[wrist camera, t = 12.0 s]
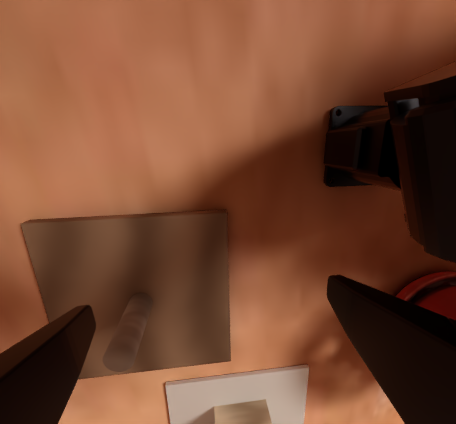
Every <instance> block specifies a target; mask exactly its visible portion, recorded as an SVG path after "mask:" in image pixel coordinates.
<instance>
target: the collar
mask: <svg viewBox="0 0 456 424" xmlns="http://www.w3.org/2000/svg"><path fill="white" fill-rule="evenodd" d="M214 413H215V424H272V422H271V418H270V414H269V410H268V406H267V402H266V399H264V400H257V401H250V402H242V403H235V404H228V405H221V406H214Z"/></svg>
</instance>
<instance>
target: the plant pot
mask: <svg viewBox="0 0 456 424" xmlns="http://www.w3.org/2000/svg"><path fill="white" fill-rule="evenodd" d="M396 297H398V298H400V299H403V300H405V301H408V302H410V303H413V304H415V305H418V306H420V307H423V308H425V309H428V310H431V311H433V312H436V313H438V314H441V315H443V316H446V317H447V318H451V319H454V320H456V272H454V271H445V272H437V273H432V274H429V275H426V276H423V277H421V278H419V279H417V280H415V281H413V282H411V283H410V284H408V285H407V286H406V287H405V288H403V289H402V290H401V291H400V292H399V293H398V294H397V296H396Z"/></svg>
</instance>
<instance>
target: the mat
mask: <svg viewBox="0 0 456 424" xmlns="http://www.w3.org/2000/svg"><path fill="white" fill-rule="evenodd" d="M308 375H309V366H308V364H307V365H299V366H291V367H283V368H275V369H267V370H259V371H251V372H243V373H235V374H227V375H219V376H211V377H203V378H195V379H187V380H179V381H171V382H166V394H167V401H168V409H169V416H170V424H215V413H214V406H221V405H228V404H235V403H242V402H250V401H257V400H264V399H266V402H267V406H268V410H269V414H270V418H271V422H272V424H304V416H305V406H306V395H307V385H308Z"/></svg>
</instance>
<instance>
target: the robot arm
mask: <svg viewBox="0 0 456 424" xmlns="http://www.w3.org/2000/svg"><path fill="white" fill-rule="evenodd" d="M384 97H385V102H387V103H388V106H337V107H334V108H333V109H332V110H331V111H330V118H329V129H328V133H327V134H326V144H325V155H324V164H325V172H324V184H325V185H326V186H329V187H337V186H360V185H377V186H382V187H387V188H391V189H396V190H400V191H402V197H403V203H404V209H405V214H404V216H405V221H406V222H407V227H408V230H409V233H410V236H411V237H412V238H414V239H415V240H416V241H417V242H418V243H419V244H421V245H423V246H424V251H425V252H427V253H429V254H431V255H434V256H436V257H439V258H441V259H444V260H447V261H450V262H454V263H456V62H453V63H451V64H449V65H446V66H444V67H442V68H439V69H437V70H435V71H432V72H430V73H428V74H425V75H423V76H421V77H418V78H416V79H414V80H411V81H409V82H407V83H404V84H402V85H400V86H397V87H395V88H392V89H390V90H388V91H385V92H384ZM336 111H338V112H339V114H338V116H336ZM329 179H332V181H331V183H329ZM327 298H328V300H329V302H330V304H331V306H332V308H333V310H334V312H335V314H336V316H337V318H338V319H339V321H340V323H341V325H342V327H343V329H344V331H345V333H346V334H347V336H348V338H349V339H350V341H351V342H352V344H353V345H354V347H355V349H356V350H357V352H358V353H359V355H360V356H361V358H362V359H363V361H364V362H365V364H366V365H367V367H368V368H369V370H370V371H371V373H372V374H373V376H374V377H375V379H376V380H377V382H378V383H379V385H380V386H381V388H382V389H383V391H384V393H385V394H386V396H387V397H388V399H389V400H390V402H391V403H392V405H393V406H394V408H395V409H396V411H397V412H398V414H399V415H400V417H401V418H402V420H403V421H404V423H405V424H456V320H454V319H451V318H447V317H446V316H443V315H441V314H438V313H436V312H433V311H431V310H428V309H425V308H423V307H420V306H418V305H415V304H413V303H410V302H408V301H405V300H403V299H400V298H398V297H395V296H392V295H390V294H387V293H385V292H382V291H380V290H377V289H375V288H372V287H370V286H367V285H365V284H362V283H359V282H357V281H354V280H352V279H349V278H347V277H344V276H342V275H332V276H329V277H328V284H327ZM95 330H96V321H95V317H94V314H93V310H92V307H91V306H90V305H80V306H76V307H75V308H73V309H71V310H70V311H68V312H67V313H65V314H63V315H62V316H60V317H59V318H57V319H55V320H54V321H52V322H51V323H49V324H47V325H46V326H44V327H42V328H41V329H39V330H38V331H36V332H34V333H33V334H31V335H30V336H28V337H26V338H25V339H23V340H22V341H20V342H18V343H17V344H15V345H14V346H12V347H10V348H9V349H7V350H5V351H4V352H2V353H1V354H0V424H58V422H59V420H60V418H61V416H62V413H63V411H64V409H65V407H66V405H67V402H68V400H69V398H70V396H71V394H72V391H73V389H74V387H75V385H76V383H77V380H78V378H79V376H80V373H81V370H82V368H83V365H84V362H85V359H86V356H87V353H88V351H89V348H90V345H91V342H92V339H93V336H94V333H95Z"/></svg>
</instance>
